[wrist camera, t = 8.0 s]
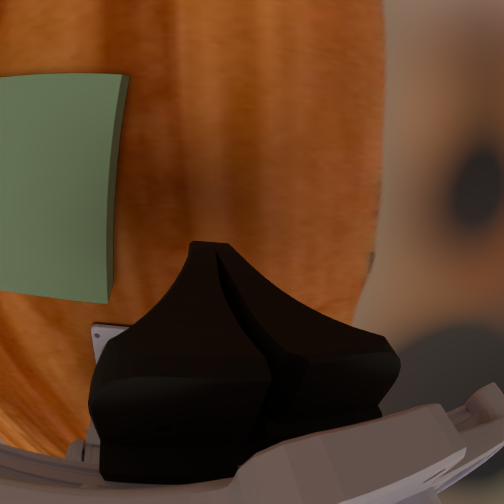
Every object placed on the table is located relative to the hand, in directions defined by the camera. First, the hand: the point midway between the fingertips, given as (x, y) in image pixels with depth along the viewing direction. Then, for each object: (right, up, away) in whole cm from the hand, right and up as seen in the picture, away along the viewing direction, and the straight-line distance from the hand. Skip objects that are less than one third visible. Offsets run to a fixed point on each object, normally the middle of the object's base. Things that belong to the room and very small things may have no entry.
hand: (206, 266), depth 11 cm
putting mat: (-16, +5, +4) cm, 18 cm away
